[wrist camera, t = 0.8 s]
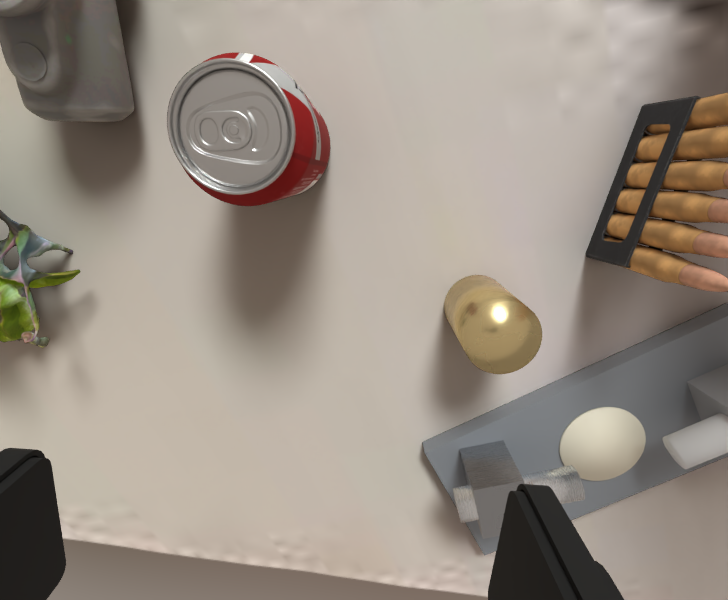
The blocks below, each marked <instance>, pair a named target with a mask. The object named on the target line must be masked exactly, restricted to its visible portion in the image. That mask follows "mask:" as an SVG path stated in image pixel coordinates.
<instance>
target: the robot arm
mask: <svg viewBox="0 0 728 600" xmlns="http://www.w3.org/2000/svg"><path fill="white" fill-rule="evenodd" d="M65 566H66V559H65V552H64V546H63V539H62V532H61V525H60V519H59V512H58V506H57V499H56V492H55V486H54V479H53V472H52V466H51V462H50V460H49V459H46V458H45V456H44V454H43V453H42V452H41V451H39V450H32V449H17V448H8V449H4V450H3V451H1V452H0V600H46V599H47V598H48V597H49V595H50V594H51V593H52V591H53V590H54V589H55V587H56V586H57V585H58V583H59V582H60V580H61V578H62V576H63V573H64V571H65ZM488 600H624V599H623V597H622V595H621V594H620V592H619V590H618V589H617V587H616V585H615V584H614V582H613V580H612V579H611V577H610V575H609V574H608V573H607V571H606V570H605V569H604V567H603V566H602V565H601V564H599V563H598V562H597V561H594V559H593V558H592V556H591V554H590V553H589V551H588V549H587V548H586V546H585V544H584V542H583V541H582V539H581V537H580V536H579V534H578V532H577V531H576V529H575V527H574V525H573V524H572V522H571V520H570V519H569V517H568V515H567V514H566V512H565V510H564V508H563V507H562V505H561V503H560V502H559V500H558V498H557V496H556V495H555V493H554V491H553V490H552V489H551V487H549V486H547V485H532V484H519V486H518V487H517V490H516V491H510V492H509V494H508V498H507V503H506V507H505V512H504V517H503V522H502V527H501V531H500V536H499V541H498V546H497V551H496V555H495V560H494V565H493V570H492V575H491V579H490V584H489V590H488Z"/></svg>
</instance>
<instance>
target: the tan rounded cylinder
mask: <svg viewBox="0 0 728 600" xmlns="http://www.w3.org/2000/svg"><path fill="white" fill-rule="evenodd" d="M444 311H445V315H446V318H447V320H448V322H449V324H450V325H451V327H452V329H453V331H454V333H455V334H456V336H457V338H458V340H459V342H460V343H461V345H462V347H463V349H464V351H465V352H466V354H467V356H468V358H469V359H470V361H471V362H472V363H473V364H474V365H475V366H476V367H478V368H479V369H481V370H483V371H486V372H488V373H493V374H506V373H511V372H514V371H517V370H519V369H521V368H523V367H524V366H525V365H527V364H528V363H529V362H530V361H531V360H532V359H533V358H534V357H535V355H536V354H537V352H538V350H539V348H540V345H541V341H542V328H541V324H540V322H539V320H538V318H537V316H536V315H535V314H534V313H533V312H532V311H531V310H530V309H529V308H528V307H527V306H525V305H524V304H523V303H522V302H521V301H519V300H518V299H517V298H516V297H515V296H513V295H512V294H511V293H510V292H509V291H507V290H506V289H505V288H504V287H502V286H501V285H500V284H499V283H498V282H496V281H495V280H494V279H492V278H490V277H487V276H483V275H472V276H468V277H465V278H463V279H461V280H459V281H458V282H456V283H455V284H454V285H453V286H452V287H451V289H450V290H449V292H448V293H447V296H446V298H445V303H444Z"/></svg>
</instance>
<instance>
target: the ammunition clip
mask: <svg viewBox="0 0 728 600" xmlns="http://www.w3.org/2000/svg"><path fill="white" fill-rule="evenodd" d="M722 125H728V93H723V94H719V95H714V96H709V97H705V98H701V97H698V96H694V97H688V98H682V99H676V100H670V101H664V102H658V103H652V104H646V105H643V106H642V108H641V111H640V113H639V116H638V118H637V121H636V124H635V126H634V129H633V131H632V134H631V137H630V139H629V142H628V144H627V147H626V150H625V152H624V155H623V157H622V160H621V163H620V165H619V168H618V171H617V173H616V176H615V178H614V181H613V184H612V186H611V189H610V191H609V194H608V197H607V199H606V202H605V204H604V207H603V210H602V212H601V215H600V217H599V220H598V223H597V225H596V228H595V231H594V233H593V236H592V238H591V241H590V244H589V246H588V249H587V251H586V256H587V257H589V258H592V259H596V260H600V261H604V262H607V263H611V264H615V265H618V266H621V267H624V268H627V269H630V270H632V271H635V272H638V273H641V274H644V275H647V276H649V277H652V278H655V279H658V280H661V281H664V282H672V283H678V284H681V285H685V286H690V287H693V288H696V289H701V290H706V291H716V292H726V291H728V278H726V277H725V276H723V275H722V274H720V273H718V272H716V271H713V270H711V269H709V268H706V267H703V266H700V265H697V264H695V263H692V262H690V261H687V260H685V259H684V258H682V257H680V256H678V255H675V254H672V253H668V252H664V251H662V250H663V249H664V250H668V251H672V252H676V253H693V254H698V255H706V256H711V257H719V258H728V236H725V235H722V234H717V233H712V232H710V231H705V230H701V229H698V228H696V227H694V226H692V225H688V224H683V223H677V222H675V220H676V221H683V222H692V223H700V222H716V223H718V222H720V223H728V199H725V198H719V197H713V196H710V195H707V194H704V193H692V192H688V190H689V191H715V190H720V189H728V163H726V162H722V161H714V160H707V161H701V160H702V159H712V158H726V157H728V126H722ZM716 126H720V127H716ZM673 160H687V161H674V162H671V161H673ZM660 189H667V190H674V191H661V190H660ZM648 217H655V218H662V220H659V219H653V218H648ZM637 243H640V244H644V245H648V246H649V247H646V246H642V245H638V244H637Z"/></svg>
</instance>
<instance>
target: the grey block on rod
mask: <svg viewBox="0 0 728 600" xmlns="http://www.w3.org/2000/svg"><path fill="white" fill-rule="evenodd" d="M459 450H460V455H461V460H462V465H463V470H464V475H465V480H466V484H467V485H466V486H461V487H456V488H453V493H454V497H455V502H456V506H457V510H458V514H459V518H460V521H461V523H463V522H468V521H474V520H477V522H478V525H479V528H480V531H481V534H482V537H483V539H485V538H491V537H496V536H500V531H501V527H502V522H503V517H504V512H505V507H506V503H507V498H508V494H509V492H510V491H516V490H517V487H518V486H519V484H532V485H547V486H549V487H551V489H552V490H553V491H554V493H555V495H556V496H557V498H558V500H559V502H560V503H561V504H564V503H570V502H575V501H580V500H584V499H585V491H584V487H583V484H582V481H581V478H580V476H579V474H578V472H577V470H576V469H575V468H574V466H572V465H569V466H564V467H559V468H554V469H549V470H544V471H538V472H533V473H528V474H523V475H521V474H520V472H519V470H518V468H517V466H516V464H515V462H514V460H513V458H512V456H511V454H510V453H509V451H508V449H507V447H506V445H505V443H504V441H503V440H501V441H496V442H491V443H486V444H481V445H476V446H471V447H466V448H461V449H459Z"/></svg>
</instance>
